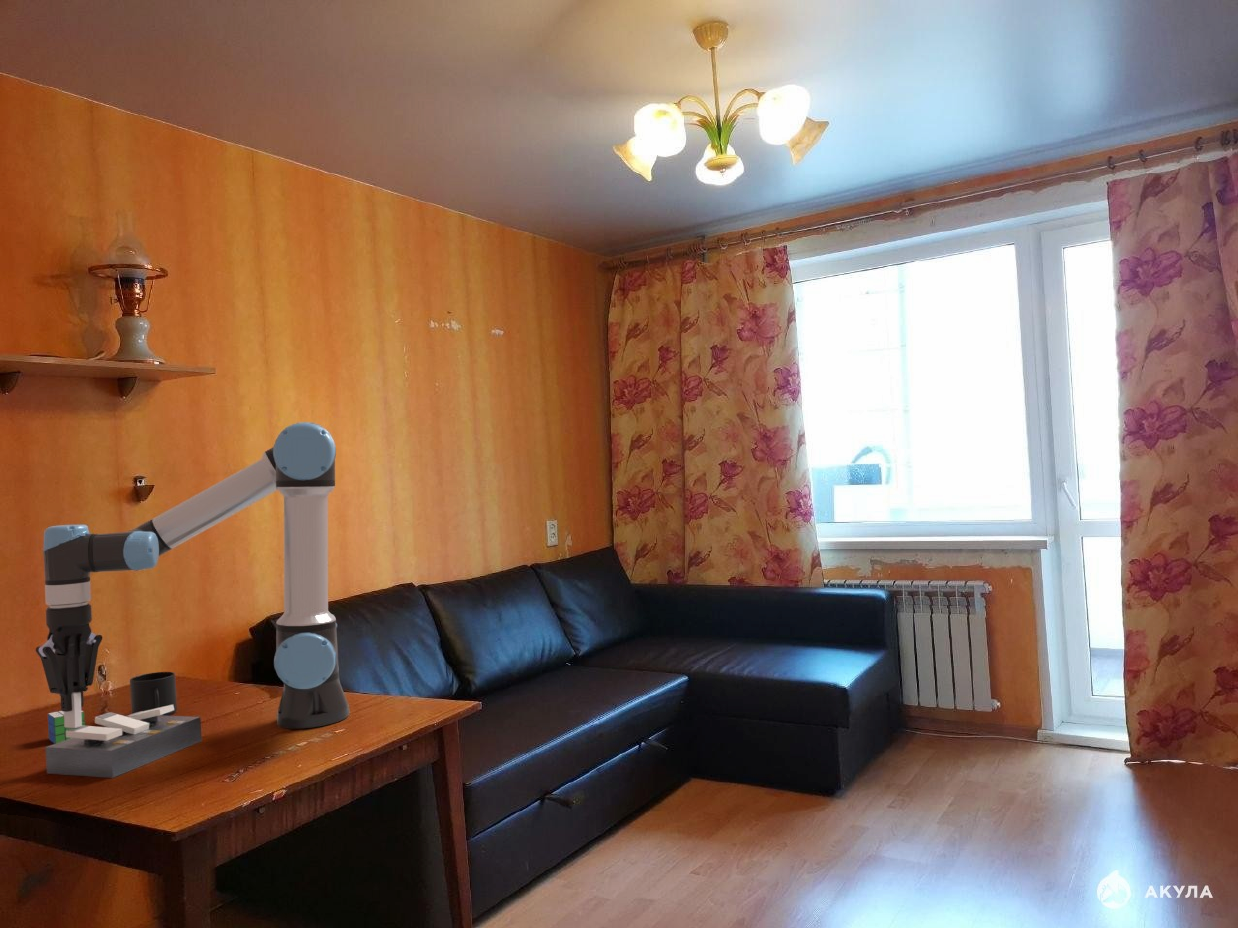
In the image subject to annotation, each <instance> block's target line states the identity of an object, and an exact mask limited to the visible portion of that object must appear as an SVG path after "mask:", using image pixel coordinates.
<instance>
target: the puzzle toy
mask: <svg viewBox="0 0 1238 928" xmlns="http://www.w3.org/2000/svg"><path fill="white" fill-rule="evenodd" d="M81 714H82V725H86V720H85V719H86V717H85V714H86V713H85V711H84V710H82V709H81ZM47 726H48V740H49V741H50V742H52V743H53V744H56V743H59V742H62V741H65V740H68V739H70V737H66V731H67V730H69V729H72V728H67V727H64V711H62V710H59V711H53V712H50V713H47Z"/></svg>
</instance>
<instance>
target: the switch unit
mask: <svg viewBox="0 0 1238 928" xmlns="http://www.w3.org/2000/svg"><path fill="white" fill-rule="evenodd" d="M140 721H143V722H147V723H149V729H148V730H145V731H142V732H140V733H137V734H130V733H127V732H124V731H122V735H121V736H118V737H115V738H113V739H110V740H107V741H104V740H92V739H81V738H70V739H68V740H65V741H62V742H59V743H56V744H54V743H53V744H50V745H48V746H45V762H46V764H45V765H46V774H48V775H49V774H51V775H64V776H79V777H91V778H92V777H94V778H95V777H96V778H108V779H109V778H111V779H113V778H117V777H119V776H121V775H124V774H126V773H128V772H130V771H133V770H136V769H138V768H141V767H142V766H145V765H147V764H150V763H153V762H155V761H157V760H160V759H162V758H164V757H167V756H170V755H171V754H174V753H176V752H178V751H182V750H183V749H186V748H188V747H190V746H193V745H196V744H198V743H200V742H202V722H201V721H202V719H201V716H188V715H187V716H184V715H183V716H182V715H169V716H162V715H159V716H154V717H150V718H146V719H141V720H140ZM104 727H106V726H104ZM107 728H110V727H107Z"/></svg>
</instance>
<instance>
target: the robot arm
mask: <svg viewBox="0 0 1238 928" xmlns="http://www.w3.org/2000/svg"><path fill="white" fill-rule="evenodd" d="M274 441H275V442H274V444H273V446H272V447H271V448H269V449H267V450H265V451H264V452H262V453H263V454H262V458H261V459H259V460H257V461H255V462H253V463H252V464H250V465H248V466H246V467H245V468H242V469H241V470H239V471H237V472H235V473H234V474H232V475H229V476H228V477H226V478H224V479H222V480H221V481H219V482H216V483H215V484H213V485H211V486H210V487H208V488H206V489H205V490H203V491H201V492H198V493H197V494H195V495H194V496H192V497H190V498H188V499H186V500H184V501H182V502H180V503H179V504H177V505H175V506H173V507H172V508H169V509H168V510H166V511H164V512H163V513H161V514H159V515H157V516H156V517H153V518H152V519H150V520H148V521H146V522H144V523H141V524H140V525H139V526H137V527H135V528H133V529H131V530H127V531H124V532H111V533H110V532H109V533H90V531H89V526H88V525H87V524H81V523H80V524H62V525H52V526H49V527H47V528H46V529H44V531H43V549H42V553H43V565H44V566H43V568H44V592H45V593H44V594H45V595H44V596H45V597H44V598H45V605H47V606H49V607H47V608H46V609H45V622H46V623H45V625H46V627H47V628H48V633H47V636H46V640H47V641H46V642H44V644H43V645H42V646H36V648H35V653H36V654H37V655H38V656H39V658H40V659H41V665H42V667H43V671H44V674H45V678H46V682H47V686H48V689H49V692H50V693H51V694H55V695H59V696H60V711H64V727H67V728H77V727H80V726H82V714H81V710H82V708H83V707H84V704H85V703H84V702H85V701H84V692H87V691H88V689H89V687H90V686H92V685H93V683H94V677H95V671H96V664H97V659H98V654H99V653H98V652H99V647H100V645H101V643H102V640H103V635H102V634H95V633H93V632H92V628H91V626H90V623H91V622H92V620H93V618H92V617H93V616H92V615H93V614H92V605H91V604H90V603H89V602H91V600H92V593H91V592H92V591H91V590H92V589H91V573H100V572H101V573H102V572H104V573H105V572H121V571H122V572H124V571H134V572H135V571H136V572H137V571H138V572H139V571H141V570H142V571H143V570H147V569H148V570H150V569H154V568H155V567H156V566H157V565H158V562H159V558H160V556H163V555H164V554H165V553H168V552H169V551H171V550H173V549H174V548H176V547H178V546H180V545H181V544H183V543H185V542H186V541H188V540H191V539H192V538H194V537H196V536H198V535H200V534H201V533H203V532H205V531H207V530H209V529H210V528H212V527H214V526H216V525H217V524H219V523H221V522H223V521H225V520H227V519H229V518H230V517H232V516H233V515H236V514H237V513H239V512H241V511H243V510H245V509H246V508H248V507H250V506H252V505H253V504H255V503H257V502H259V501H260V500H262V499H264V498H266V497H268V496H269V495H271V494H273V493H275V492H277V491H278V492H279V493H280V494H281V495H282V496H283V576H284V577H283V593H284V594H283V596H284V597H283V598H284V600H283V604H284V607H283V608H284V611H283V614H282V615H281V616H280V617H279V618H278V619H277V620H276V623H275V624H276V625H275V626H276V631H275V633H276V635H275V636H276V637H275V638H276V639H275V640H276V644H275V645H276V647H275V648H276V650H275V653H274V658H273V666H274V670H275V672H276V675H277V676H278V678H279V679H280V681H282V682H283V691H282V695H281V697H280V700H279V704H278V705H279V706H278V709H277V711H276V725H277V726H278V727H280V728H283V729H292V730H293V729H298V730H299V729H311V728H317V727H323V726H328V725H331V724H334V723H335V724H336V723H338V722H341V721H343V720H346V719H347V718H348V717H349V716H350V704H349V701H348V700H347V697H346V694H345V692H344V690H343V689H344V688H343V687H342V684H341V681H340V673H339V671H340V669H339V667H340V666H339V650H338V648H339V647H338V636H337V633H338V632H337V628H338V623H337V619H336V616H335V614H332V613H331V612H330V611H329V563H328V562H329V546H328V545H329V540H328V539H329V529H328V527H329V526H328V525H329V520H328V519H329V518H328V517H329V514H328V513H329V512H328V511H329V509H328V507H329V505H328V503H329V502H328V499H329V498H328V496H329V495H330V494H331V492H333V491H334V490H335V488H336V458H337V457H336V455H337V448H336V443H335V441H334V439H333V436H332V435H331V433H330V432H329V431H328V429H326V428H325V427H323V426H321V425H320V424H317V423H314V422H307V421H304V422H296V423H292V424H291V425H287V427H285V428H284V429H283V430H282V431H280V432H279V434H278V435H277V437H276V439H275V440H274Z"/></svg>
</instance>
